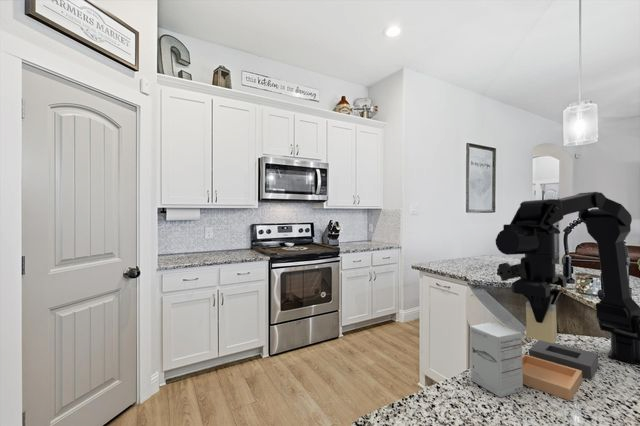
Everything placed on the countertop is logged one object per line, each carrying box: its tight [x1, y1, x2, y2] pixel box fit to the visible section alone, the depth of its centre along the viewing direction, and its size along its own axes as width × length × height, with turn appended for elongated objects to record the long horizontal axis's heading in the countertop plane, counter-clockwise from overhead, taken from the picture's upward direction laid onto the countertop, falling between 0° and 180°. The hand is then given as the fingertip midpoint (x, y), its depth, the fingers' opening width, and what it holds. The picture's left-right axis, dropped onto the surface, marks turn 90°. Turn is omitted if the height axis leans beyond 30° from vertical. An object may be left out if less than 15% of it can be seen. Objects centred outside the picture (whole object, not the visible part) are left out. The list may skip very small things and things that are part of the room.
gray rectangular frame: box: [528, 340, 600, 381], centre depth 75 cm, size 10×12×3 cm
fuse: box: [525, 300, 558, 344], centre depth 68 cm, size 3×5×8 cm, turn 39°
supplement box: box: [469, 321, 524, 398], centre depth 65 cm, size 7×7×13 cm
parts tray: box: [522, 353, 583, 402], centre depth 68 cm, size 12×12×2 cm
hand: (541, 321), depth 68 cm, fingers closed on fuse, 3 cm apart
